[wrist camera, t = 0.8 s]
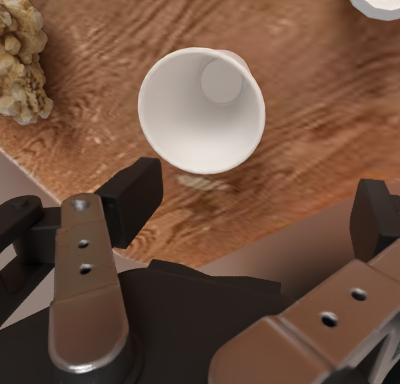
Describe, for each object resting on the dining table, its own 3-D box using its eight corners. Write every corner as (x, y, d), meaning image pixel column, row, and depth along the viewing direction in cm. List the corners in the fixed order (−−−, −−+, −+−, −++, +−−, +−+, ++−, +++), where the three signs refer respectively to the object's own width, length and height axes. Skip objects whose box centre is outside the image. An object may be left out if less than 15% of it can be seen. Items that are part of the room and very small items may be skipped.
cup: (166, 107, 36) (127, 149, 27) (190, 11, 30) (151, 25, 21) (248, 138, 36) (236, 191, 27) (287, 49, 30) (289, 78, 21)
